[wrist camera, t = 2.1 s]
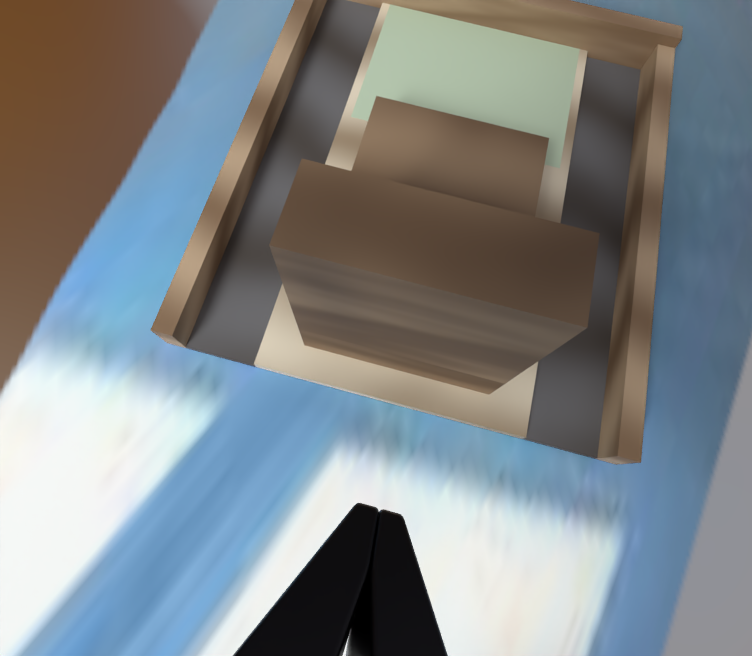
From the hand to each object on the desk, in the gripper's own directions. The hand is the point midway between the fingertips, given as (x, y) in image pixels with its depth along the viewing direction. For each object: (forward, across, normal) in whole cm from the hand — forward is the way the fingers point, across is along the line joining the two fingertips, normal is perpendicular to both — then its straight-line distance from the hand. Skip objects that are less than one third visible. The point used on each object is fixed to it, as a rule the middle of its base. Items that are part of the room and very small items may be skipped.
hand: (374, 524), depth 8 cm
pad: (+26, 0, -8) cm, 27 cm away
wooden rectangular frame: (+22, 0, -2) cm, 22 cm away
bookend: (+18, 0, 0) cm, 18 cm away
